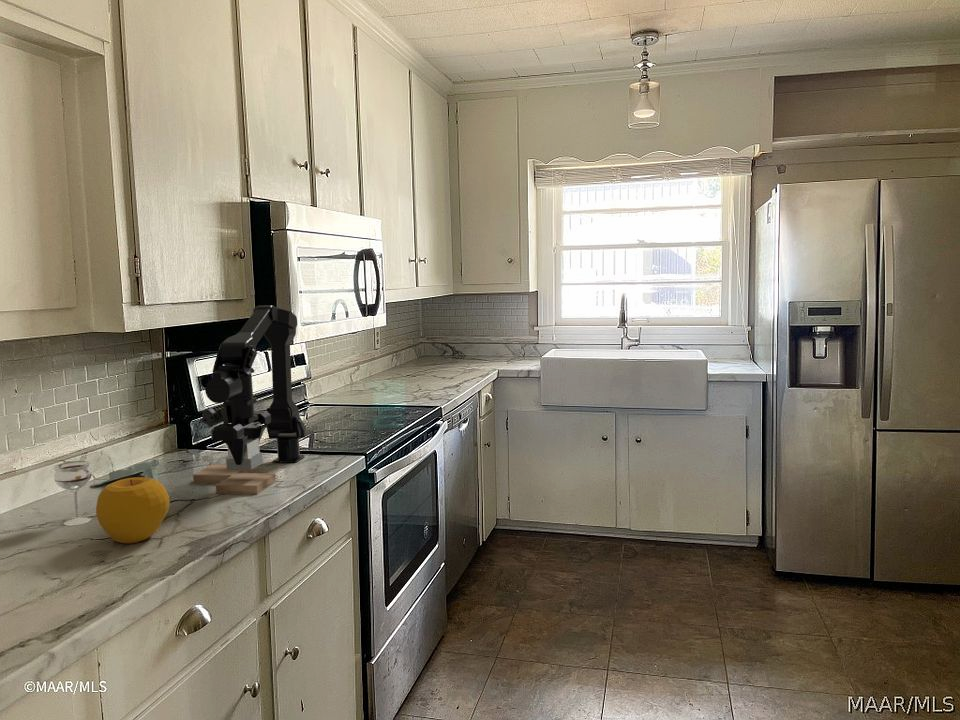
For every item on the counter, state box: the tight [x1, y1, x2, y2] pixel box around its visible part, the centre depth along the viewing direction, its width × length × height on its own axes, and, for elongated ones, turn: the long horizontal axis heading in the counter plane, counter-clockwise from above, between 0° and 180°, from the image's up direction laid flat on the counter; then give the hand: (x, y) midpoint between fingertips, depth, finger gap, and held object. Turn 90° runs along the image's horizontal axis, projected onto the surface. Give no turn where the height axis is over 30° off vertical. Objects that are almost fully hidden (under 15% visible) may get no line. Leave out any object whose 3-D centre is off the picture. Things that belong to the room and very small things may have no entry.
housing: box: [225, 438, 264, 471], centre depth 174 cm, size 6×6×6 cm
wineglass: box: [53, 460, 92, 527], centre depth 154 cm, size 7×7×12 cm
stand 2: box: [215, 472, 277, 495], centre depth 175 cm, size 10×10×2 cm
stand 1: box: [192, 463, 252, 484], centre depth 184 cm, size 10×10×2 cm
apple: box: [95, 476, 171, 544], centre depth 143 cm, size 13×13×11 cm
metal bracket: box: [90, 457, 168, 487], centre depth 184 cm, size 14×6×15 cm
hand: (245, 461), depth 174 cm, fingers closed on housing, 6 cm apart
